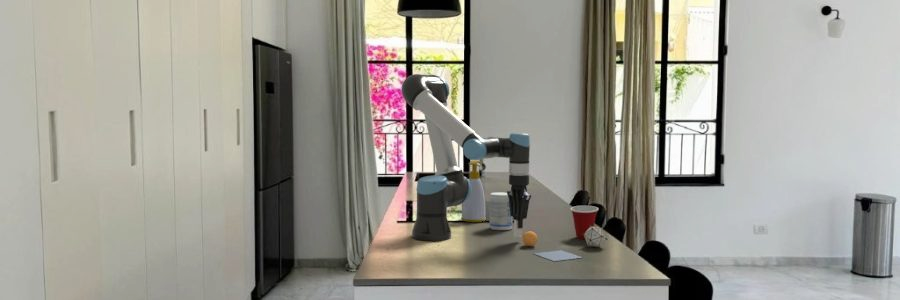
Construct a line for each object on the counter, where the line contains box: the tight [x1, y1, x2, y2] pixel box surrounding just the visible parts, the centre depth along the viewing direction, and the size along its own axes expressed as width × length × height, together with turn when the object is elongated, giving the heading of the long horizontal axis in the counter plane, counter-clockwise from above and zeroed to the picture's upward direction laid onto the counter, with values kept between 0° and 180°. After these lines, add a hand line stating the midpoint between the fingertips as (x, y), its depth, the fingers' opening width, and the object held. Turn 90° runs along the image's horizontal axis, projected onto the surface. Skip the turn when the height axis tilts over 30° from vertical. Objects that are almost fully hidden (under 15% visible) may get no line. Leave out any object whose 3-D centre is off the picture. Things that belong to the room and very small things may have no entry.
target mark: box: [532, 250, 583, 262], centre depth 234 cm, size 12×12×1 cm
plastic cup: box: [570, 205, 599, 240], centre depth 265 cm, size 11×11×12 cm
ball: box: [522, 230, 538, 247], centre depth 249 cm, size 6×6×6 cm
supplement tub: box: [489, 191, 513, 231], centre depth 281 cm, size 10×10×15 cm
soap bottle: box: [460, 160, 487, 223], centre depth 299 cm, size 11×12×26 cm
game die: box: [582, 225, 609, 249], centre depth 249 cm, size 9×8×10 cm
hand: (518, 236), depth 256 cm, fingers closed
